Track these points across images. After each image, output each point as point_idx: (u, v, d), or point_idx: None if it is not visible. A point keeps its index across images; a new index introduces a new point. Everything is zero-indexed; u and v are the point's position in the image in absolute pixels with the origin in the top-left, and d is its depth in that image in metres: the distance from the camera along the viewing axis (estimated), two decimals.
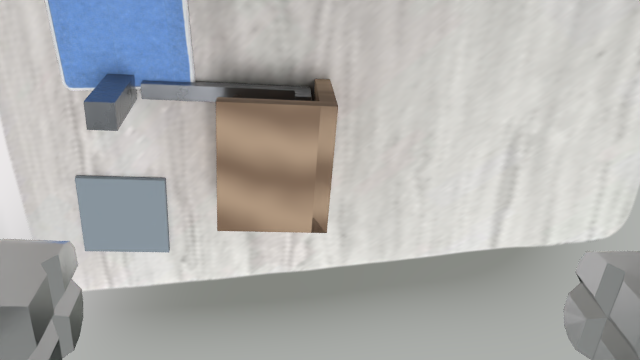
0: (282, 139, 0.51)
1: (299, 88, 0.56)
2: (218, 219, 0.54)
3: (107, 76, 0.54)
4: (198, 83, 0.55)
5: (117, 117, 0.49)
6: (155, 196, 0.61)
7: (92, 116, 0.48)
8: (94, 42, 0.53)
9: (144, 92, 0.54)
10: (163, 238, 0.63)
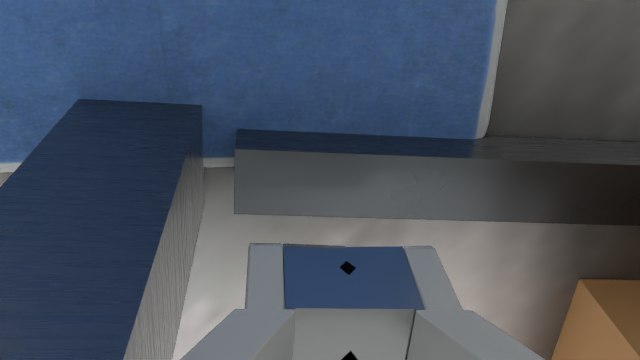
0: None
1: None
2: None
3: (77, 113, 0.11)
4: (477, 143, 0.13)
5: None
6: None
7: None
8: None
9: (247, 186, 0.12)
10: None
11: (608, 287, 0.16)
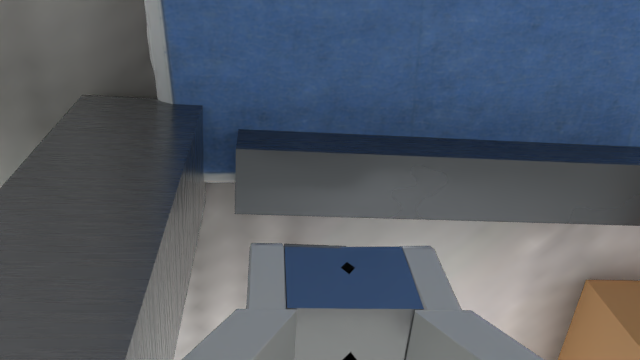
0: None
1: None
2: None
3: (78, 113, 0.11)
4: (478, 143, 0.13)
5: None
6: None
7: None
8: None
9: (248, 186, 0.12)
10: None
11: (617, 289, 0.15)
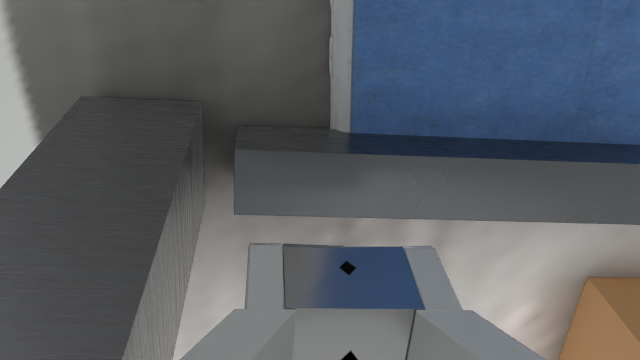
0: None
1: None
2: None
3: (76, 114, 0.11)
4: (477, 142, 0.13)
5: None
6: None
7: None
8: None
9: (247, 186, 0.12)
10: None
11: (616, 284, 0.16)
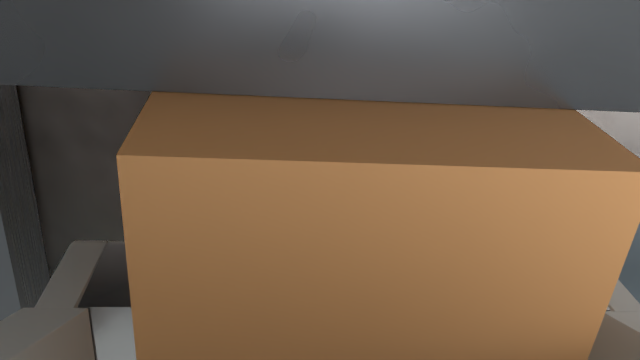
0: None
1: None
2: None
3: None
4: None
5: None
6: None
7: None
8: None
9: None
10: None
11: None
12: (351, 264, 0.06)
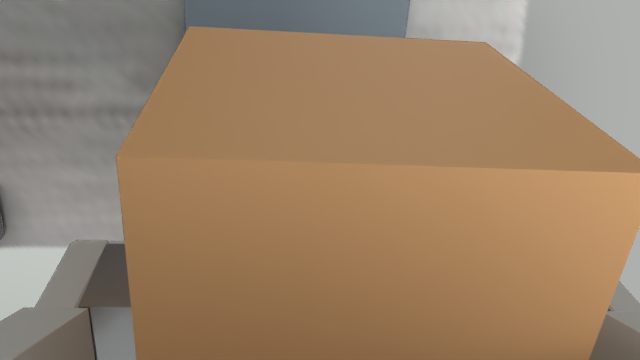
0: None
1: None
2: None
3: None
4: None
5: None
6: None
7: None
8: None
9: None
10: None
11: None
12: (351, 264, 0.06)
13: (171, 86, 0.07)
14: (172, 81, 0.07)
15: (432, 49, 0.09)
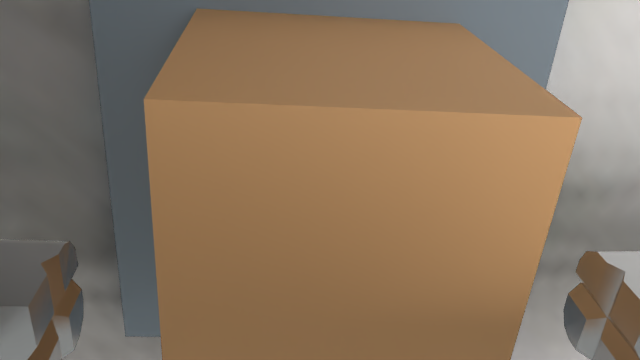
0: None
1: None
2: None
3: None
4: None
5: None
6: (194, 10, 0.11)
7: None
8: None
9: None
10: None
11: None
12: (333, 193, 0.07)
13: (184, 52, 0.08)
14: (184, 49, 0.08)
15: (410, 28, 0.10)
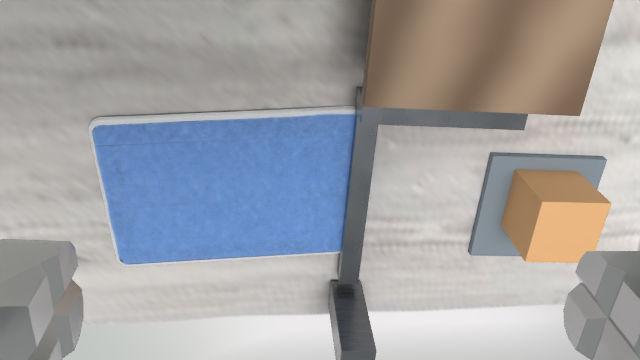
0: (436, 5, 0.31)
1: (356, 104, 0.40)
2: (560, 113, 0.34)
3: (329, 311, 0.48)
4: (344, 222, 0.45)
5: (361, 346, 0.41)
6: (514, 169, 0.44)
7: None
8: (301, 217, 0.44)
9: (349, 281, 0.46)
10: (582, 164, 0.44)
11: (504, 220, 0.45)
12: (568, 216, 0.40)
13: (533, 188, 0.41)
14: (532, 187, 0.41)
15: (567, 174, 0.44)
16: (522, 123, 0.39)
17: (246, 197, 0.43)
